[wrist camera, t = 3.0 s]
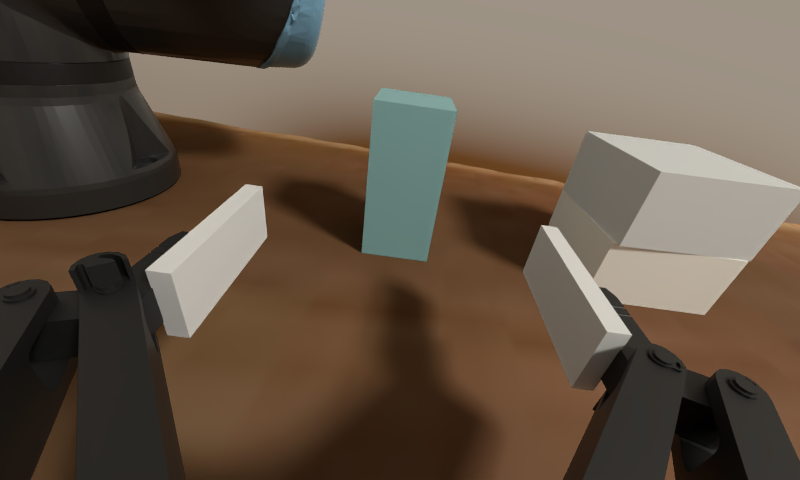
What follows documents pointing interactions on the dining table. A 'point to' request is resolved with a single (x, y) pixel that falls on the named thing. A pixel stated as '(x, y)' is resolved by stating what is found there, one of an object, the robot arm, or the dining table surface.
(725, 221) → the tower top
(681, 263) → the tower base
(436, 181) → the teal post
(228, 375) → the dining table surface
